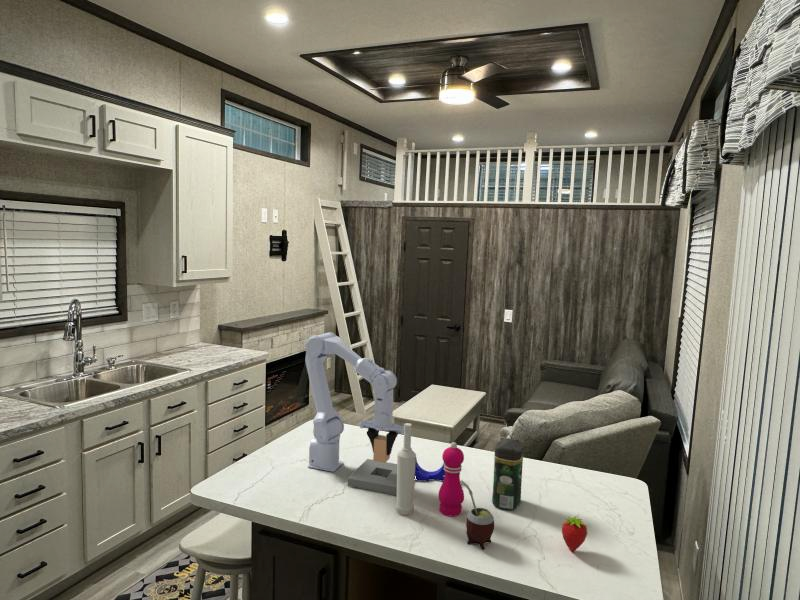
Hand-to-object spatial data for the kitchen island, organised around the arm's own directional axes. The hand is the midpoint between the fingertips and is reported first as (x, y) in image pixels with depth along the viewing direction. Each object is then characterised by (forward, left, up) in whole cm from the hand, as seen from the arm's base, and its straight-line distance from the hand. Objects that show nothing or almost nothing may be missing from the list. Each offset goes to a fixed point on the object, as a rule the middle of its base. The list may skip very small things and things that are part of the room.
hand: (382, 452), depth 169 cm
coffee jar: (+39, 0, -9) cm, 40 cm away
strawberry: (+58, -19, -9) cm, 62 cm away
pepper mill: (+25, -11, -9) cm, 29 cm away
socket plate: (0, 0, -9) cm, 9 cm away
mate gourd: (+35, -24, -9) cm, 43 cm away
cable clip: (+14, +7, -9) cm, 18 cm away
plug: (0, 0, -2) cm, 2 cm away
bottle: (+13, -16, -9) cm, 22 cm away
